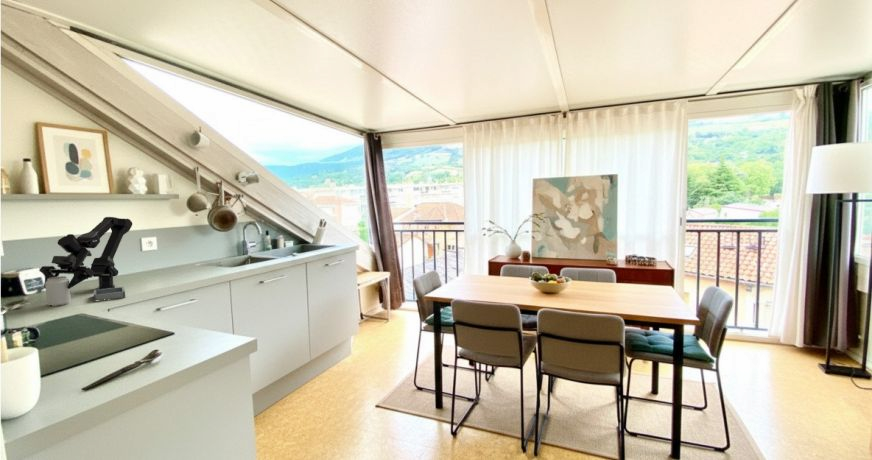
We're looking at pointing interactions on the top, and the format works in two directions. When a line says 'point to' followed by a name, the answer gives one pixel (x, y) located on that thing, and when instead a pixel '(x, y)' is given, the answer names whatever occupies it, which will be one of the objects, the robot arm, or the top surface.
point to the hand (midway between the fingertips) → (56, 288)
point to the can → (57, 291)
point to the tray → (109, 293)
